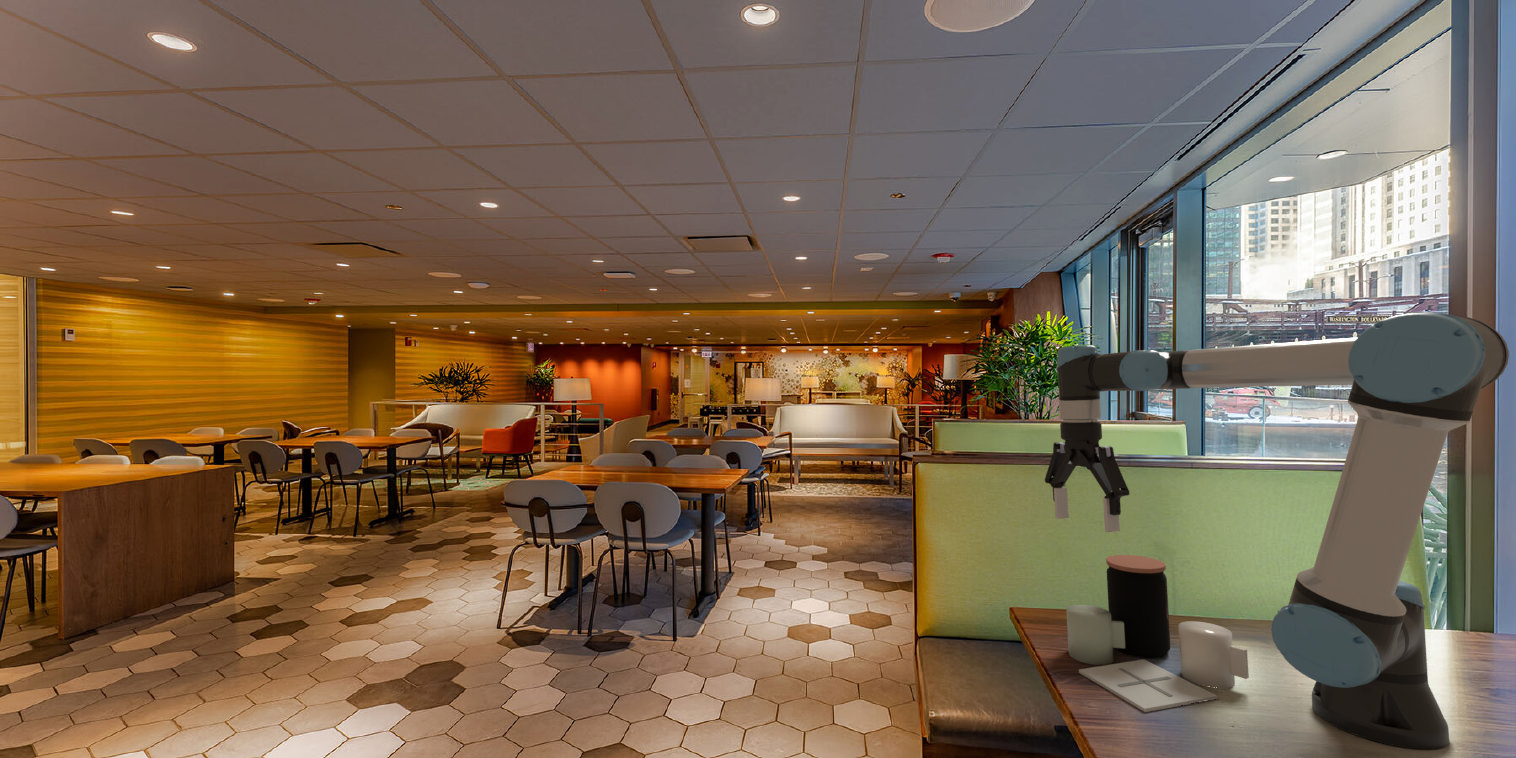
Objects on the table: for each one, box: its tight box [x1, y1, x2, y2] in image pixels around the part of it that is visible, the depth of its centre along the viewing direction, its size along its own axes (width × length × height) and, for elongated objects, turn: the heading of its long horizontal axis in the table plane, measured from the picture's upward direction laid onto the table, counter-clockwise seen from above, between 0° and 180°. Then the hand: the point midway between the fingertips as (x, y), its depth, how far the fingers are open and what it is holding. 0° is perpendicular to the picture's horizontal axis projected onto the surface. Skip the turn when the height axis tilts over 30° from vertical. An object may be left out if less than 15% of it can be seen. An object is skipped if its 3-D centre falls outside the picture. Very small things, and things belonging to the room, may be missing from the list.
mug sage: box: [1065, 604, 1125, 666], centre depth 122 cm, size 10×8×9 cm
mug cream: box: [1178, 620, 1250, 689], centre depth 111 cm, size 10×8×9 cm
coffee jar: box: [1105, 554, 1171, 659], centre depth 125 cm, size 11×11×18 cm
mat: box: [1078, 659, 1218, 713], centre depth 110 cm, size 15×15×1 cm
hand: (1085, 524), depth 123 cm, fingers open, 13 cm apart
